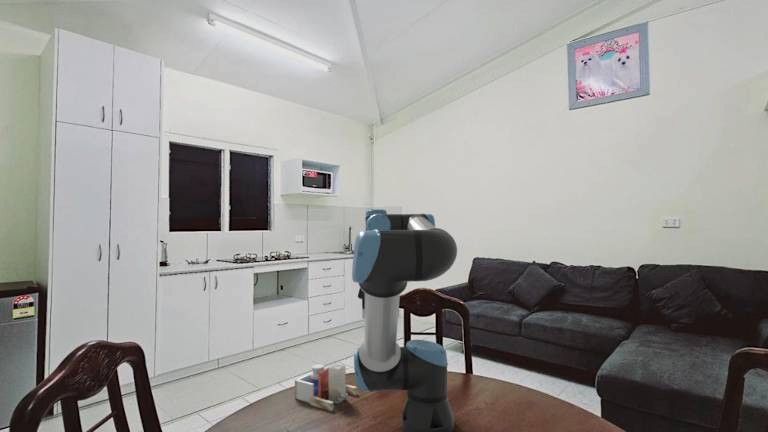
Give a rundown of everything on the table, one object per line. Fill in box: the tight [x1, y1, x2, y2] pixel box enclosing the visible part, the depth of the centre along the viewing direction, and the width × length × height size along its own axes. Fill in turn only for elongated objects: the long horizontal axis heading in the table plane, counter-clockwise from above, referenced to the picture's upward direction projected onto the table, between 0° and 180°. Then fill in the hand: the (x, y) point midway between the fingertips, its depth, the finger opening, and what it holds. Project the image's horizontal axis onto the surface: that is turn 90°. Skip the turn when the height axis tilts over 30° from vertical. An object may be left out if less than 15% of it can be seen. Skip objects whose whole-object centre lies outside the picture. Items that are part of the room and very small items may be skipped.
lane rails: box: [309, 383, 358, 412], centre depth 129 cm, size 9×14×2 cm, turn 149°
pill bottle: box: [310, 363, 325, 397], centre depth 132 cm, size 6×5×10 cm
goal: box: [294, 371, 314, 404], centre depth 133 cm, size 8×12×6 cm, turn 149°
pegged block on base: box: [318, 363, 350, 405], centre depth 128 cm, size 10×6×11 cm, turn 59°
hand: (377, 314), depth 135 cm, fingers open, 13 cm apart
